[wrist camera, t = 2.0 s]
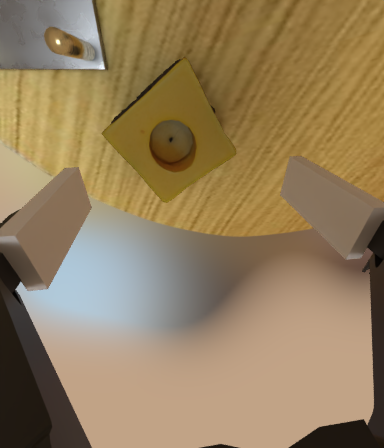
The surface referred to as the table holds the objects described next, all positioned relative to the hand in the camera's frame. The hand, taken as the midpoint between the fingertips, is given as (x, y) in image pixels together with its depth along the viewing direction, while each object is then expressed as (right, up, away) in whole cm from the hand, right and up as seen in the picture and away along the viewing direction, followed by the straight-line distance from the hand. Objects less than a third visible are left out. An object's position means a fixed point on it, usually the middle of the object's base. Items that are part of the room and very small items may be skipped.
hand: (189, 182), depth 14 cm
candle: (-3, +11, +15) cm, 19 cm away
